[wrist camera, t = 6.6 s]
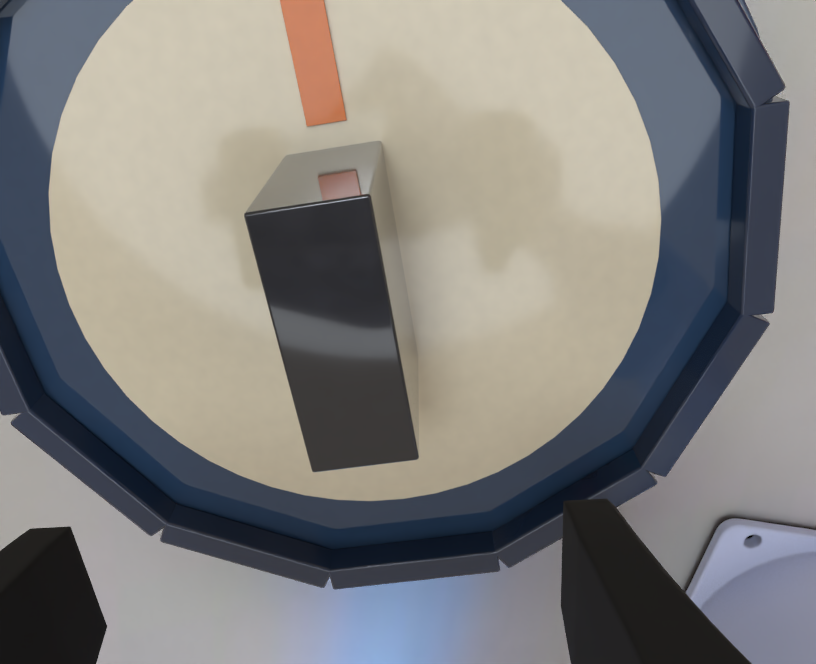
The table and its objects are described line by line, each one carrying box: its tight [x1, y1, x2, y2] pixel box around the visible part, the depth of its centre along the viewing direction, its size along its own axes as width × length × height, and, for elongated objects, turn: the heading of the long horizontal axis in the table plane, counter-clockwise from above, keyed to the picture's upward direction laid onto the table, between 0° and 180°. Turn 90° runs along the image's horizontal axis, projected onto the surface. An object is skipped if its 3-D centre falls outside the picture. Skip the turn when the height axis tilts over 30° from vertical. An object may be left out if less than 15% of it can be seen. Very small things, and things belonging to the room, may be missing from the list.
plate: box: [0, 0, 790, 589], centre depth 14 cm, size 18×18×5 cm
